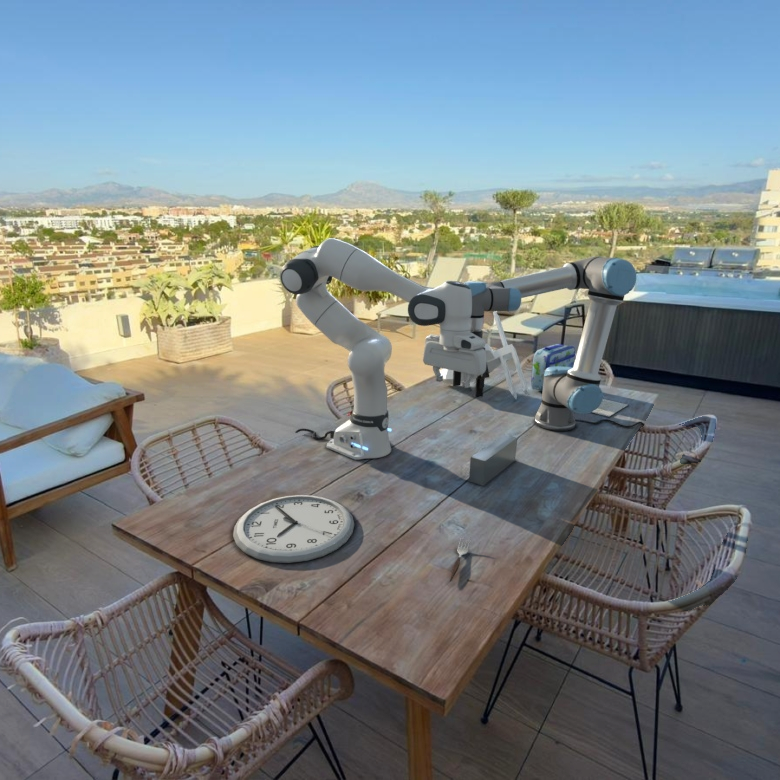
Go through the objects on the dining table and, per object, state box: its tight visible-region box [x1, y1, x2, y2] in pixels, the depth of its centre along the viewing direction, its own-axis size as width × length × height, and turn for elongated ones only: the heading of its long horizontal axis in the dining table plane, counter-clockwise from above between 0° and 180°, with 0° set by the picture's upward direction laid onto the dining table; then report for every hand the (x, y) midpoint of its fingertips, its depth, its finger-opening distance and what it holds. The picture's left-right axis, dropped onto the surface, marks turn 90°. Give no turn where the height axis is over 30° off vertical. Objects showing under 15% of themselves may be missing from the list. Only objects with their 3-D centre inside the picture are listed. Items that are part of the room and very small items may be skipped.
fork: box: [449, 535, 471, 582], centre depth 119 cm, size 3×16×2 cm, turn 160°
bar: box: [468, 433, 518, 487], centre depth 164 cm, size 23×5×8 cm, turn 143°
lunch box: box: [530, 343, 576, 392], centre depth 248 cm, size 26×11×21 cm, turn 134°
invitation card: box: [591, 398, 629, 418], centre depth 226 cm, size 21×1×15 cm
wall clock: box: [232, 494, 355, 564], centre depth 132 cm, size 30×2×30 cm
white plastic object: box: [439, 311, 531, 400], centre depth 245 cm, size 37×45×31 cm
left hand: (452, 384), depth 156 cm, fingers open, 8 cm apart
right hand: (467, 391), depth 178 cm, fingers open, 13 cm apart
